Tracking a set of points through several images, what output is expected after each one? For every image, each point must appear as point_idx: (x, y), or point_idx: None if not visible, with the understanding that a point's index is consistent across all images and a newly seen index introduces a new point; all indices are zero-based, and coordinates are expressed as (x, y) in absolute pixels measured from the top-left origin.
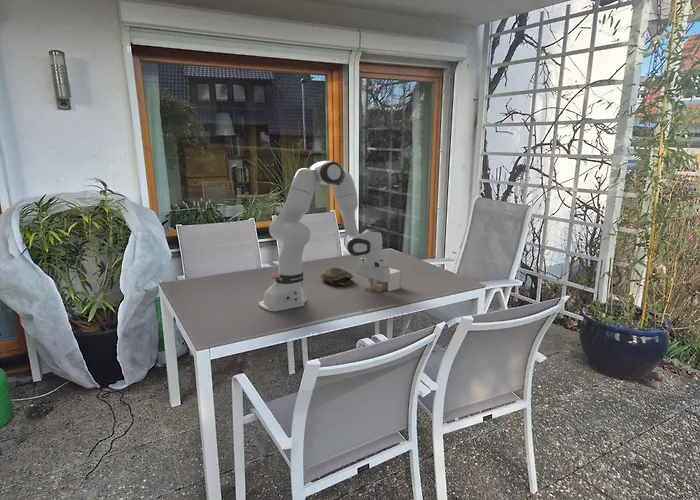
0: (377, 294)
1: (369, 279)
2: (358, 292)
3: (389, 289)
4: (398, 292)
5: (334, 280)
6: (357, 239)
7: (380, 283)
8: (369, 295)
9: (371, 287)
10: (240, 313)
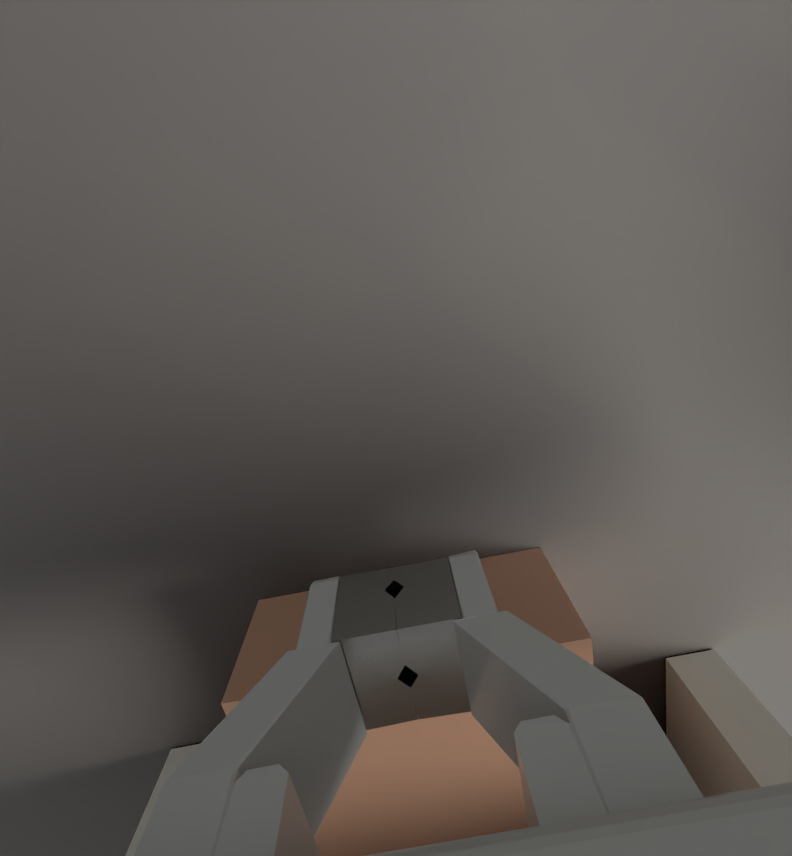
0: (62, 470)
1: (560, 744)
2: (446, 97)
3: (154, 792)
4: (51, 829)
5: None
6: None
7: (437, 829)
8: (48, 243)
9: (501, 579)
10: None
